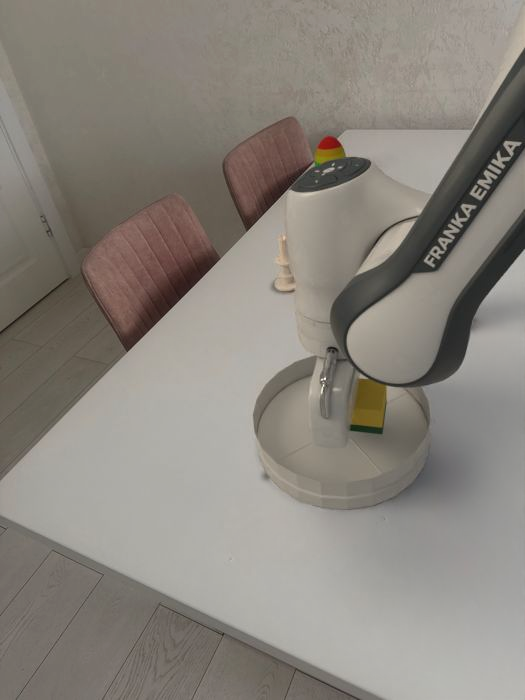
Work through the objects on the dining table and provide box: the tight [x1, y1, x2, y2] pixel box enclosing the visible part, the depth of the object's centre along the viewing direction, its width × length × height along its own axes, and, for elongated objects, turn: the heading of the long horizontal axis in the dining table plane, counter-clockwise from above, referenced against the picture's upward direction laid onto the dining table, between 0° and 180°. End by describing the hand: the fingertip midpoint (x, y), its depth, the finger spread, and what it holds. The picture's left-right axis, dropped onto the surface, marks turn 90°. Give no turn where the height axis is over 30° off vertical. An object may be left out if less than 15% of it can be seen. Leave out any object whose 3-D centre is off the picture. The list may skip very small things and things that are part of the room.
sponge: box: [350, 378, 387, 434], centre depth 59 cm, size 8×5×4 cm, turn 74°
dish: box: [252, 354, 432, 511], centre depth 63 cm, size 22×22×5 cm
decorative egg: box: [314, 135, 347, 167], centre depth 129 cm, size 8×8×10 cm
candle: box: [274, 234, 296, 293], centre depth 91 cm, size 5×5×10 cm
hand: (345, 410), depth 60 cm, fingers closed on sponge, 5 cm apart
